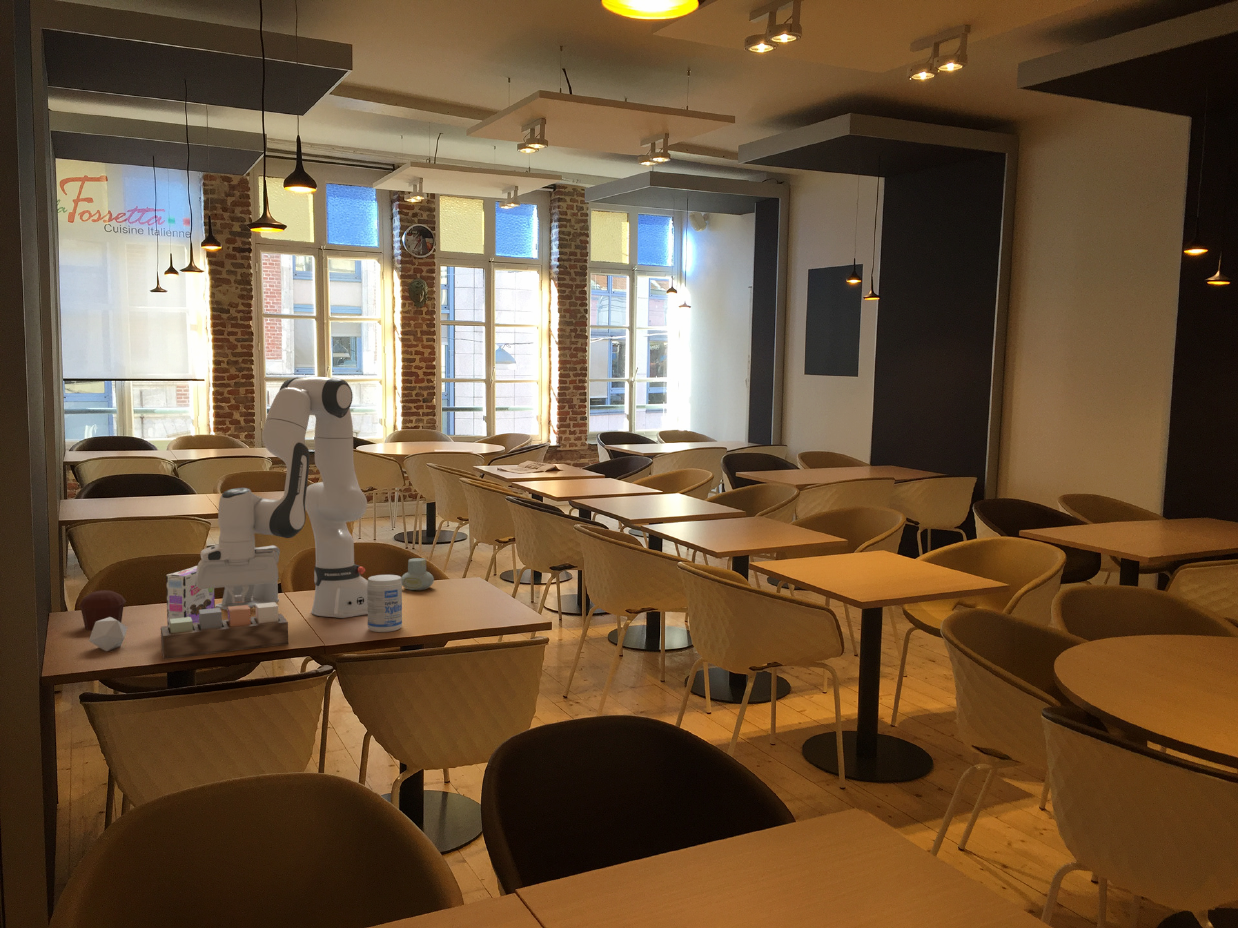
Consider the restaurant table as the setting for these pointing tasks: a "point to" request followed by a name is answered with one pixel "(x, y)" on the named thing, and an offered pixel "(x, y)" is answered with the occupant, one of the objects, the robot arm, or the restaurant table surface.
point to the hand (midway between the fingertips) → (238, 602)
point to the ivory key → (266, 612)
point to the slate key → (210, 618)
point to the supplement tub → (384, 603)
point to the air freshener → (417, 575)
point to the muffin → (101, 607)
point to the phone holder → (252, 592)
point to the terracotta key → (239, 615)
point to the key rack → (223, 638)
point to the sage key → (181, 625)
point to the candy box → (186, 596)
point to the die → (108, 634)
